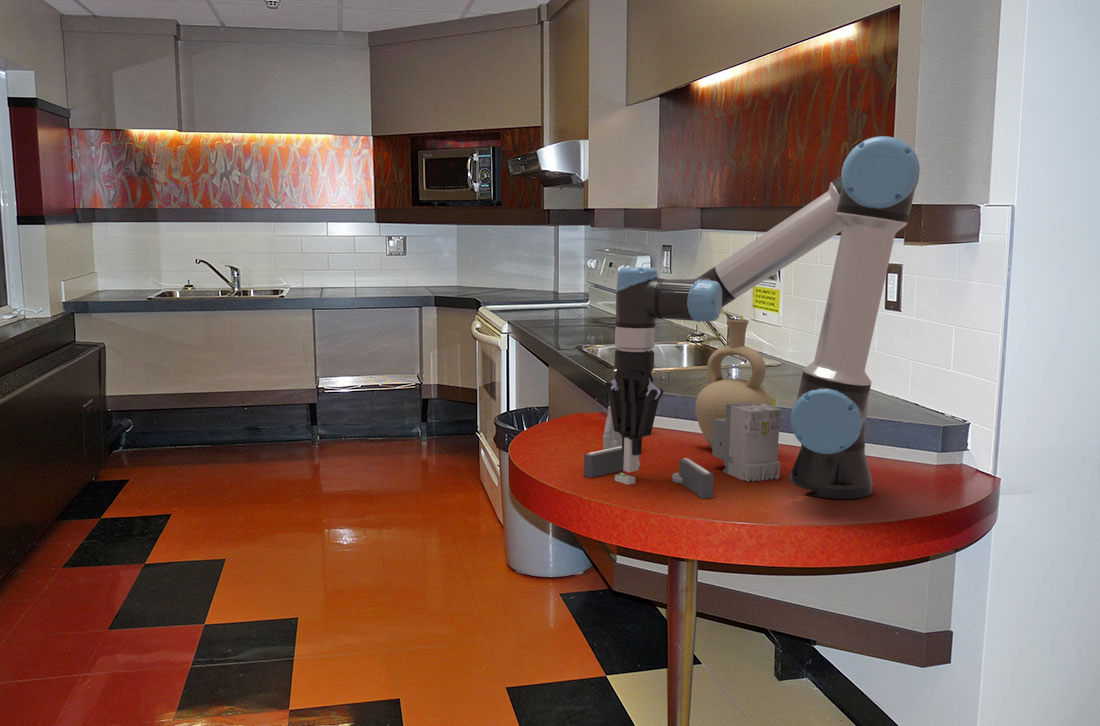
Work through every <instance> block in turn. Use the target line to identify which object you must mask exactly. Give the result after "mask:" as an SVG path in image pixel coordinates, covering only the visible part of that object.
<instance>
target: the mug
mask: <svg viewBox="0 0 1100 726" xmlns="http://www.w3.org/2000/svg"><path fill="white" fill-rule="evenodd" d="M603 433H604V434H602V441H603V442H602V443H603V444H602V446H603V450H605V449H610V448H615V447H619V446H622V436H621V434H620V433H618V432H615V431H614V428H613V421H612V414H611V408H610V406H608V407H607V417H606V419H605V425H604V432H603Z"/></svg>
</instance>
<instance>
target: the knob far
mask: <svg viewBox="0 0 1100 726" xmlns="http://www.w3.org/2000/svg"><path fill="white" fill-rule="evenodd" d="M640 466H641V461H639V469H640V468H641V467H640ZM623 468H624V453H623V452H622V446H619V447H615V448H610V449H605V450H604V449H601V450H597V451H591V452H588V453H585V454H583V477H586V478H589V479H592V478H596V477H601V476H606V475H610V474H614V473H617V472H618V473H620V472H622V471H623ZM623 472H624V471H623Z"/></svg>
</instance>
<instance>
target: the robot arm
mask: <svg viewBox="0 0 1100 726" xmlns="http://www.w3.org/2000/svg"><path fill="white" fill-rule="evenodd" d="M920 170H921V168H920V162H919V158H918V156H917V154H916V153H915V151H914V149H913V148H912V147H911V146H910V145H909V144H908V143H907V142H905V141H903V140H902V139H900V138H896V137H892V136H887V135H885V136H884V135H881V136H874V137H870V138H868V139H865V140H863V141H861V142H860V143H859V144H857V145H856V146H855V147H853V148H852V149H851V151H850V152H849V153H848V154H847V156H846V158H845V159H844V161H843V165H842V168H841V175H840V176H839V177H837V178H836V179H834V180H833V181H831V182H830V183H829V189H828V190H827V191H826V192H824V193H823V194H822V195H820V196H818V197H816V199H813V200H812V201H810V202H809V203H808V204H806V205H805V206H803V207H802V208H800V209H799V210H797V211H796V212H794V213H793V214H791V215H790V216H789V217H787V218H786V219H784V220H782V221H781V222H779V223H778V224H776V225H775V226H773V227H772V228H771V229H769V230H767V231H766V232H765V233H763V234H761V235H760V236H759V237H757V238H755V239H754V240H753V241H751V242H750V243H748V244H746V245H745V246H743V247H742V248H741V249H739V250H737V251H736V252H734V253H733V254H732V255H730V256H728V257H727V258H725V259H723V260H722V261H721V262H719V263H718V264H716V265H715V266H714V267H712V268H711V269H709V270H707V271H706V272H704V273H703V274H701V275H700V276H698V277H696V278H691V279H685V278H684V279H676V278H675V279H670V278H669V279H667V278H659V275H658V270H657V269H656V268H654V267H639V266H638V267H636V266H632V267H631V266H629V267H626V266H624V267H622V268H620V269H619V271H618V272H617V281H616V289H615V331H614V334H615V335H614V346H615V347H616V348H617V349H616V350H615V351H614V360H613V361H614V364H613V367H614V368H615V370H616V372H615V374H614V378H613V379H612V380H611V381H606V382H605V383H604V387H605V390H606V391H607V395H608V399H609V400H608V401H609V407H610V408H611V414H612V421H613V428H614V431H615V432H618V433H620V434H621V436H622V452H623V453H624V468H623V472H627V473H633V472H636V471H639V470H640V468H639V462H640V461H639V460H640V455H642V448H643V447H642V446H643V438H644V437H650V436H651V434H652V431H653V426H654V422H655V420H656V419H655V418H656V413H657V410H658V406H659V401H660V399H661V397H662V396H663V394H664V389H662V388H658V387H657V386H656V385H655V384H654V378H653V373H652V372H653V370H654V368H655V352H654V350H653V348H654V347H655V342H656V341H655V340H656V337H655V336H656V319H658V320H676V321H677V320H678V321H691V322H692V321H693V322H694V321H695V322H697V323H700V322H714V321H717V320H718V319H719V317H720V315H721V312H722V309H723V307H725V306H727V305H728V304H730V303H731V302H733V301H734V300H736V299H737V298H739V297H740V296H742V295H743V294H745V293H747V292H748V291H749V290H751V289H753V288H754V287H756V286H758V285H759V284H761V283H762V282H764V281H765V280H767V279H768V278H770V277H771V276H773V275H775V274H776V273H778V272H779V271H781V270H782V269H784V268H785V267H787V266H788V265H790V264H792V263H793V262H795V261H797V260H798V259H799V258H802V257H803V256H804V255H806V254H808V253H809V252H811V251H812V250H814V249H816V248H817V247H818V246H820V245H822V244H823V243H824V242H827V241H828V240H830V239H831V238H832V237H834V236H836V235H837V234H839V233H840V238H839V243H838V247H837V253H836V257H835V262H834V266H833V271H832V275H831V281H830V284H829V290H828V294H827V295H828V296H827V299H826V304H825V309H824V314H823V317H822V318H823V319H822V323H821V327H820V332H819V337H818V342H817V346H816V352H815V355H814V359H813V361H812V362H811V363H809V364H807V365H806V366H805V367H804V368H803V370H802V375H801V378H800V384H799V388H798V392H797V398H796V401H795V402H794V404H793V406H792V409H791V411H790V424H791V425H790V426H791V429H792V432H793V434H794V437H795V438H796V439H797V441H798V442H799V443H800V449H799V451H798V454H797V456H796V458H795V461H794V464H793V467H792V468H791V472H790V475H789V481H790V483H792V484H793V485H795V486H797V487H800V488H803V489H806V490H811V491H810V492H806V493H805V495H807V496H812V497H818V498H823V499H824V498H825V499H835V500H851V499H852V500H854V499H862V498H863V499H864V498H866V497H869V496H870V495H871V494H873V493H872V492H873V478H872V474H871V471H870V468H869V464H868V460H867V456H866V453H865V451H866V449H865V448H866V435H867V432H866V431H867V418H868V417H867V416H868V401H869V396H870V391H871V386H872V381H871V379H870V377H869V376H868V375H867V373H866V367H867V362H868V358H869V355H870V354H869V353H870V349H871V344H872V338H873V336H874V330H875V326H876V322H877V317H878V313H879V308H880V303H881V300H882V295H883V292H884V291H883V290H884V285H885V281H886V277H887V274H888V273H887V272H888V267H889V264H890V259H891V253H892V250H893V245H894V242H895V237H896V234H897V233H898V232H899V231H901V229H903V228H904V227H906V226H907V225H908V223H909V219H910V218H909V217H910V214H911V209H912V206H913V205H912V204H913V202H914V201H913V200H914V196H915V193H916V188H917V186H918V184H919V183H918V182H919V178H920ZM651 373H652V374H651Z"/></svg>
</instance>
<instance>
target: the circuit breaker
mask: <svg viewBox="0 0 1100 726" xmlns="http://www.w3.org/2000/svg"><path fill="white" fill-rule="evenodd" d="M782 411H783V409H781V408H779V407H775V406H773V405H772V406H769V405H766V404H762V403H743V404H727V405H726V418H722V419H714V428H713V449H712V456H714V457H717V458H719V459H720V460H723V466H724V467H725V468H723V473H725V474H727V475H729V476H732V477H734V478H736V479H738V480H741V481H745V482H748V483H749V482H750V481H752V482H756V481H758V482H760V481H764V480H765V481H767V480H772V481H773V479H776V480H778V479H779V478H780V475H781V474H780V473H781V469H780V468H781V461H780V460H778V459H779V456H778V455H779V439H780V438H779V436H780V432H782V431H783V417H781V415H782V414H781V412H782Z"/></svg>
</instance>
